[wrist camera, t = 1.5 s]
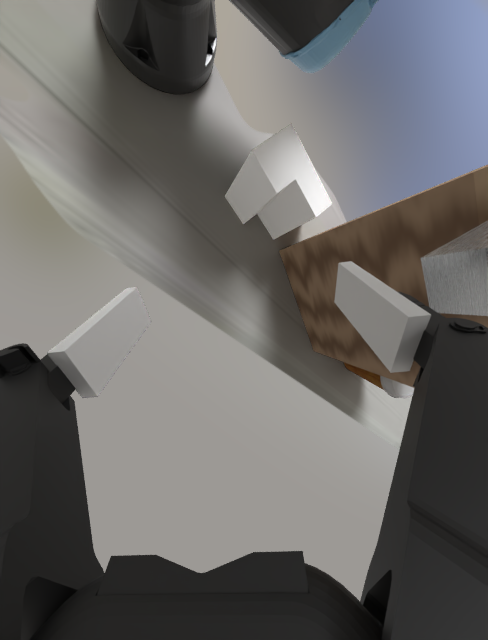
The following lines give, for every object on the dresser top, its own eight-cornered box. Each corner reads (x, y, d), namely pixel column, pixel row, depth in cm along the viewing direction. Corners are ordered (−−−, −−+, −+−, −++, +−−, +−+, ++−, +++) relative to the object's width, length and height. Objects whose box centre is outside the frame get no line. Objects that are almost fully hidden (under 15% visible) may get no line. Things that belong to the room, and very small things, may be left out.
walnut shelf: (279, 250, 40) (494, 163, 14) (326, 230, 43) (574, 129, 17) (313, 351, 45) (517, 425, 19) (354, 326, 48) (575, 360, 22)
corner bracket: (224, 196, 35) (251, 150, 24) (272, 162, 38) (317, 105, 27) (260, 250, 39) (299, 231, 27) (302, 215, 41) (353, 185, 30)
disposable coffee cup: (372, 339, 51) (430, 351, 40) (364, 378, 51) (420, 400, 40) (342, 335, 47) (396, 347, 36) (334, 376, 48) (385, 401, 37)
